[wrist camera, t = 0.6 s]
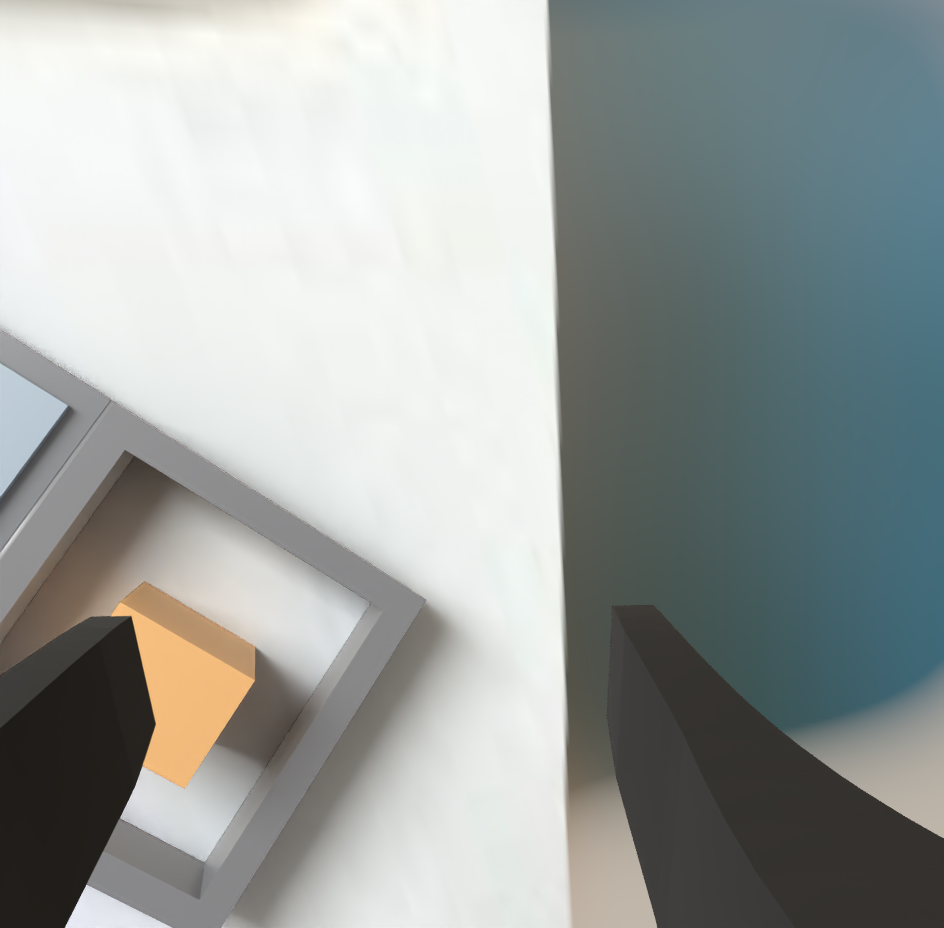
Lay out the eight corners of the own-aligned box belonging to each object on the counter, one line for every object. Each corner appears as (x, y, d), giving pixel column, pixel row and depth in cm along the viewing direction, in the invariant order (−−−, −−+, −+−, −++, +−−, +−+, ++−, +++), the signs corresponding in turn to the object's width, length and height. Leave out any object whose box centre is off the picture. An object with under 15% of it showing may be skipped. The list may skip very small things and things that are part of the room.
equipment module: (197, 735, 33) (184, 788, 27) (82, 671, 32) (43, 712, 26) (255, 646, 33) (255, 680, 27) (144, 581, 32) (120, 602, 26)
